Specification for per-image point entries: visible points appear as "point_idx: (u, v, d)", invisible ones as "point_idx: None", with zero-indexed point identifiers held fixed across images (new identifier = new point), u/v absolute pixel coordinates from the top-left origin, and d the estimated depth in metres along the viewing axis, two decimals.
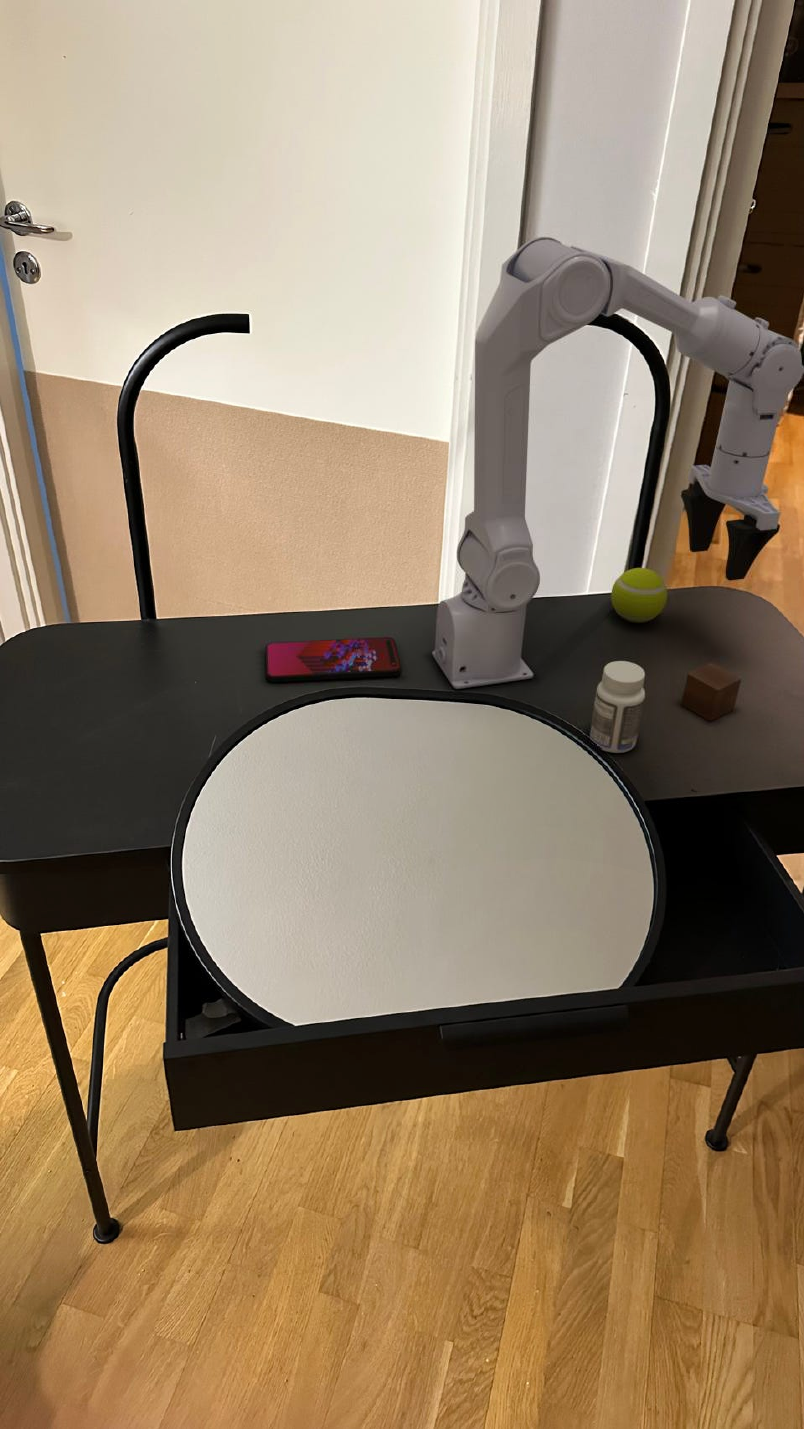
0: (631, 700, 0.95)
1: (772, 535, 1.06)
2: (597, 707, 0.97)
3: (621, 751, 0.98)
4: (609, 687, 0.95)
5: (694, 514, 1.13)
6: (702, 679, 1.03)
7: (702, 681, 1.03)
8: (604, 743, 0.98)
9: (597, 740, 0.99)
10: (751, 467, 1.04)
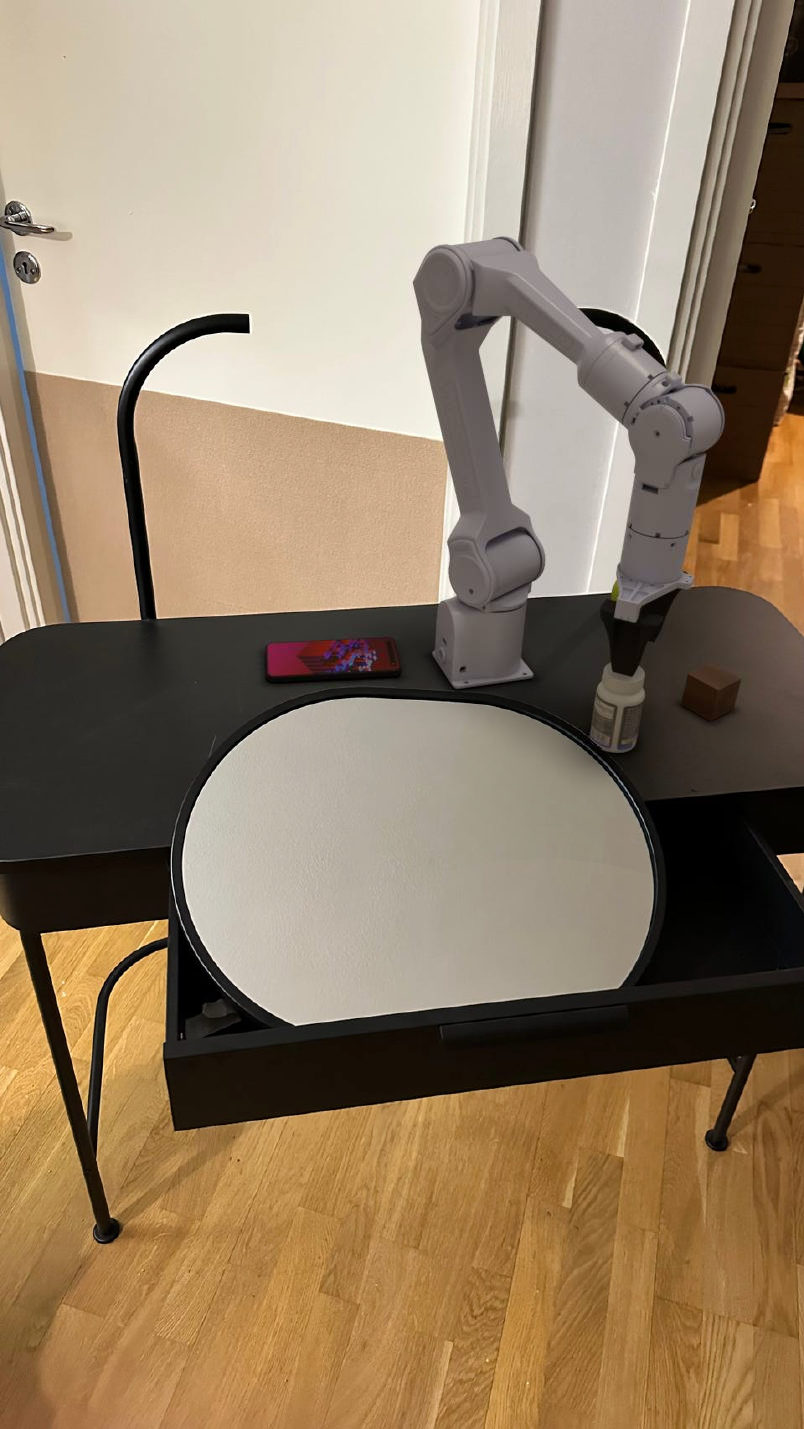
0: (631, 700, 0.95)
1: (647, 633, 0.88)
2: (597, 707, 0.97)
3: (621, 751, 0.98)
4: (609, 687, 0.95)
5: None
6: (702, 679, 1.03)
7: (702, 681, 1.03)
8: (604, 743, 0.98)
9: (597, 740, 0.99)
10: (642, 546, 0.88)
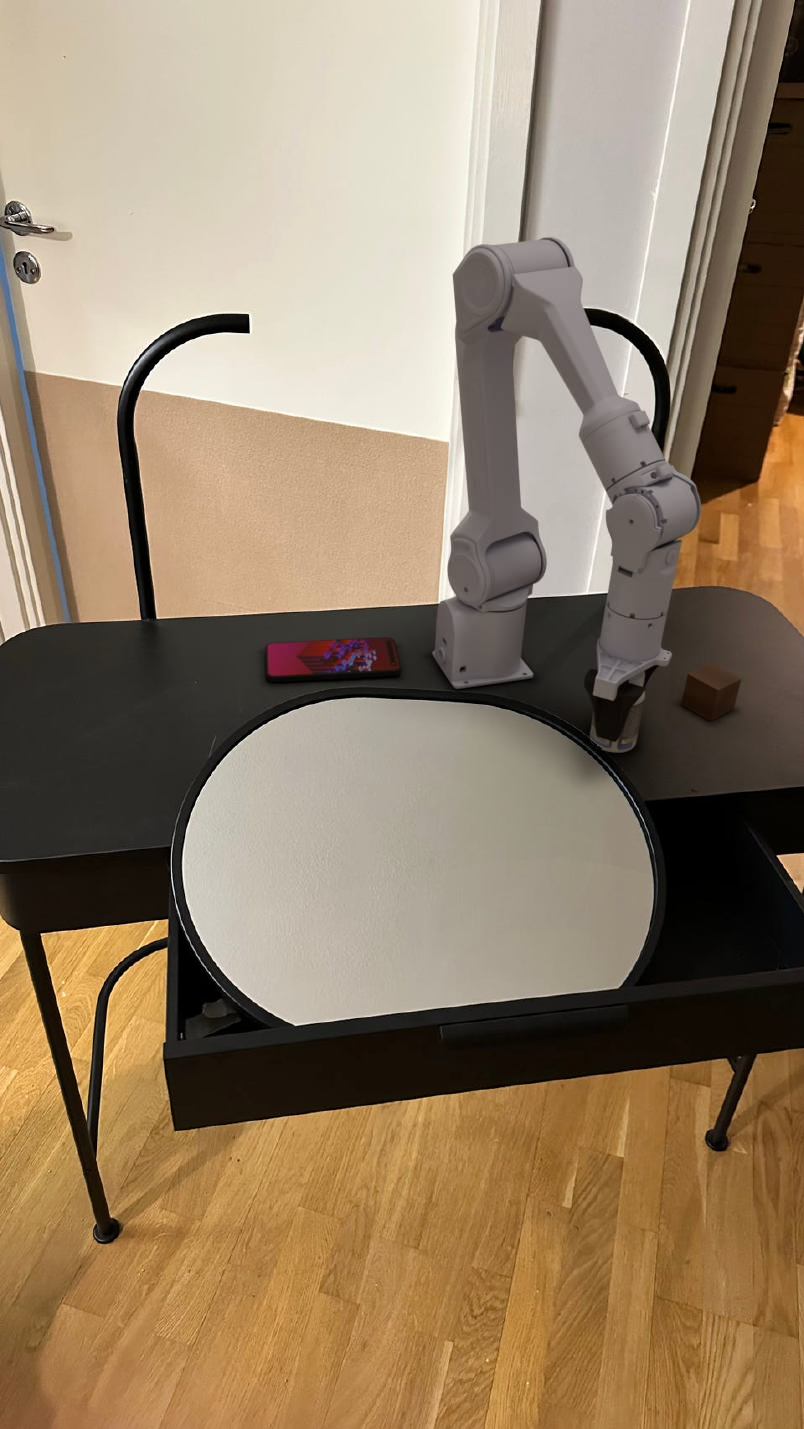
0: None
1: (629, 703, 0.92)
2: None
3: (621, 751, 0.98)
4: None
5: None
6: (702, 679, 1.03)
7: (702, 681, 1.03)
8: (604, 743, 0.98)
9: (597, 740, 0.99)
10: (621, 625, 0.90)
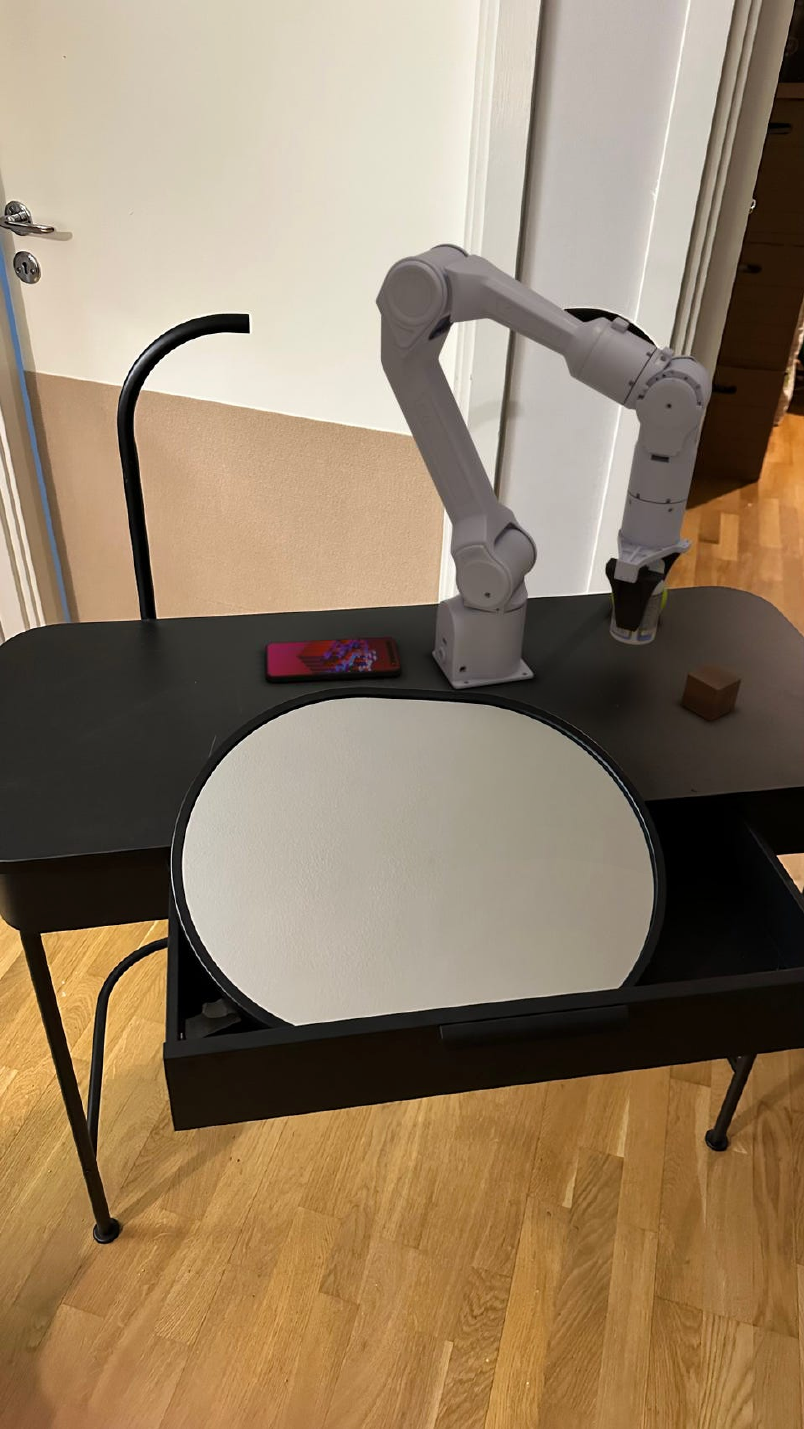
0: None
1: (649, 588, 0.94)
2: None
3: (641, 643, 1.01)
4: None
5: None
6: (702, 679, 1.03)
7: (702, 681, 1.03)
8: (624, 634, 1.01)
9: (617, 632, 1.01)
10: (642, 511, 0.93)
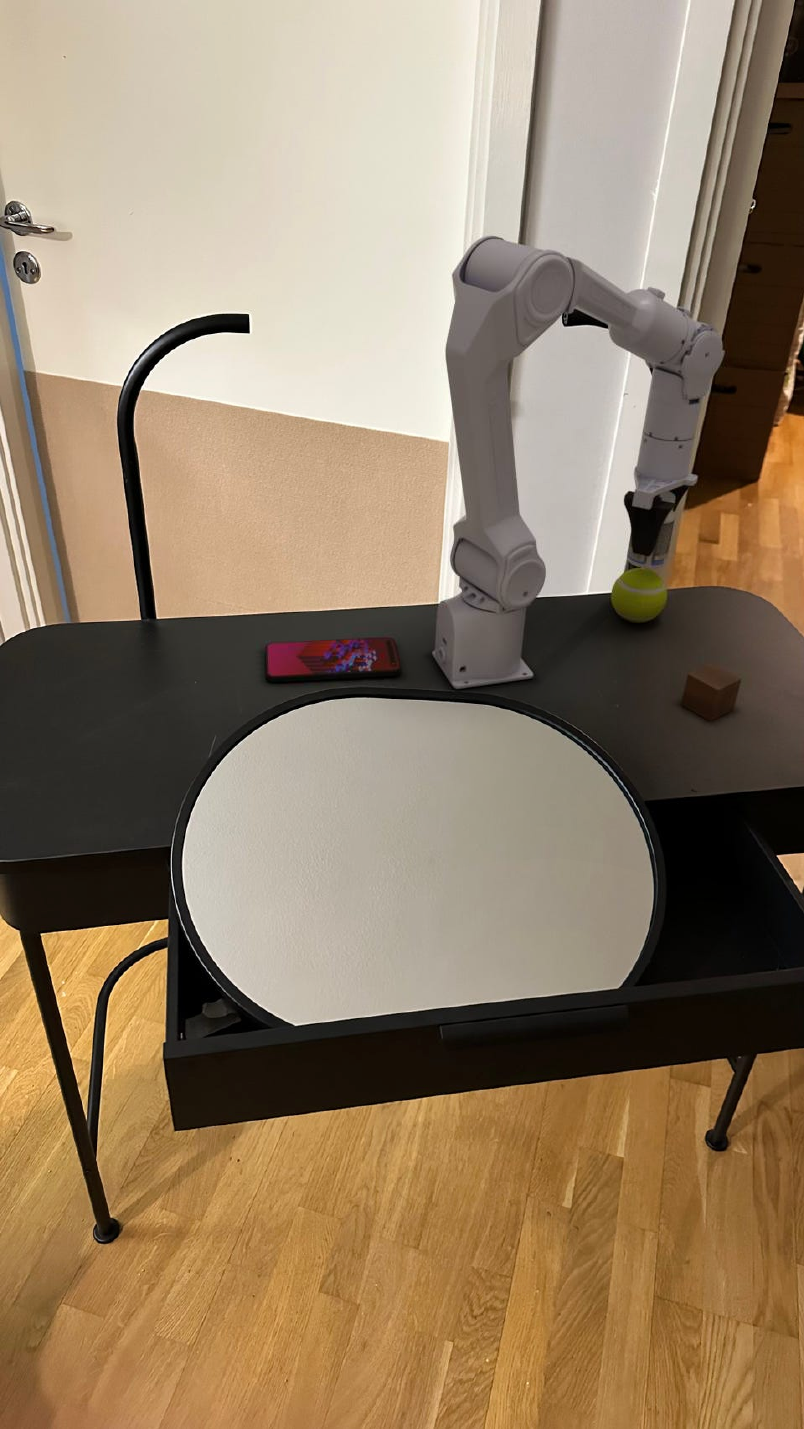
0: None
1: (662, 516, 1.10)
2: None
3: (654, 567, 1.16)
4: None
5: None
6: (702, 679, 1.03)
7: (702, 681, 1.03)
8: (640, 560, 1.16)
9: (634, 558, 1.16)
10: (655, 448, 1.08)
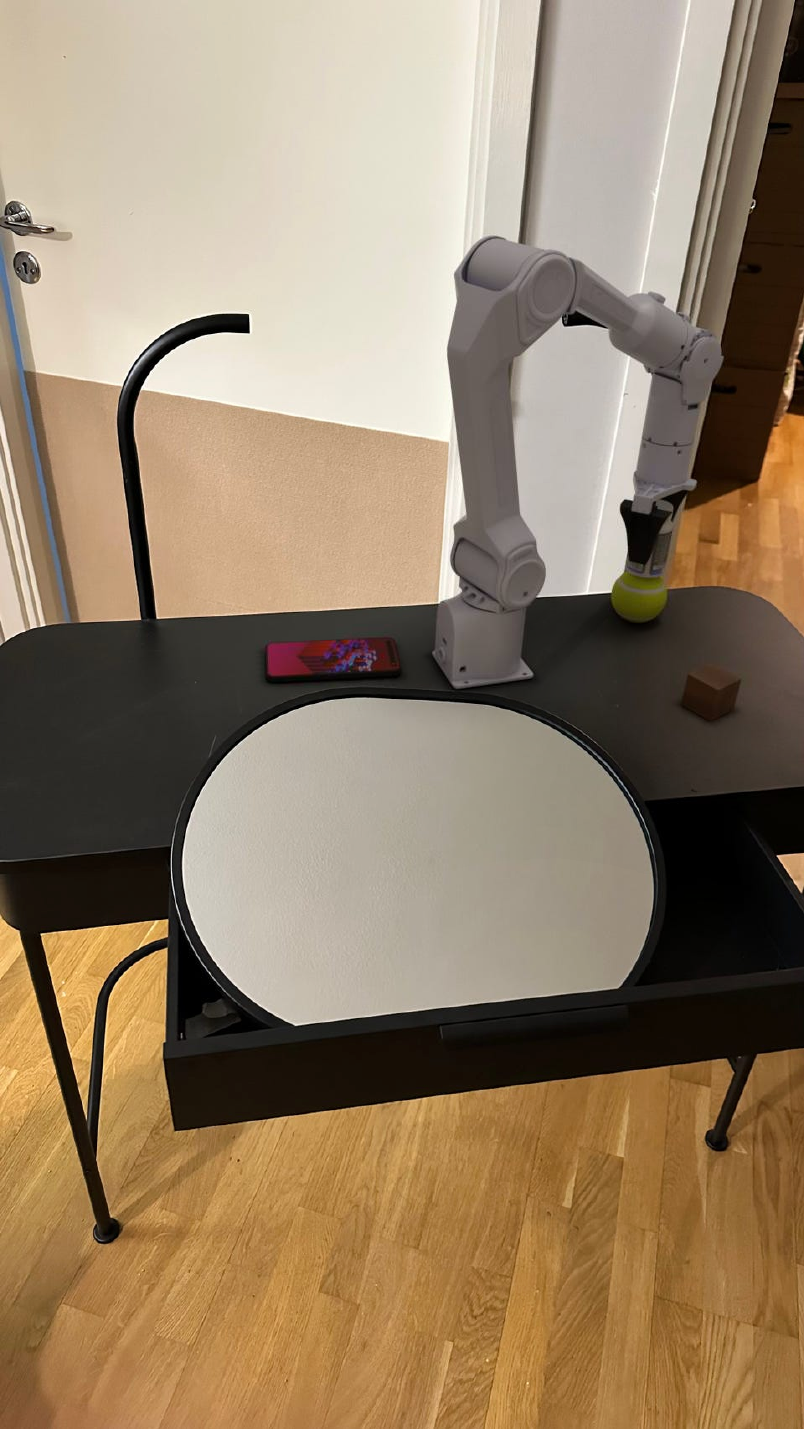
0: (662, 529, 1.13)
1: (658, 524, 1.09)
2: None
3: (652, 576, 1.17)
4: None
5: None
6: (702, 679, 1.03)
7: (702, 681, 1.03)
8: (638, 569, 1.17)
9: (632, 567, 1.17)
10: (654, 453, 1.08)
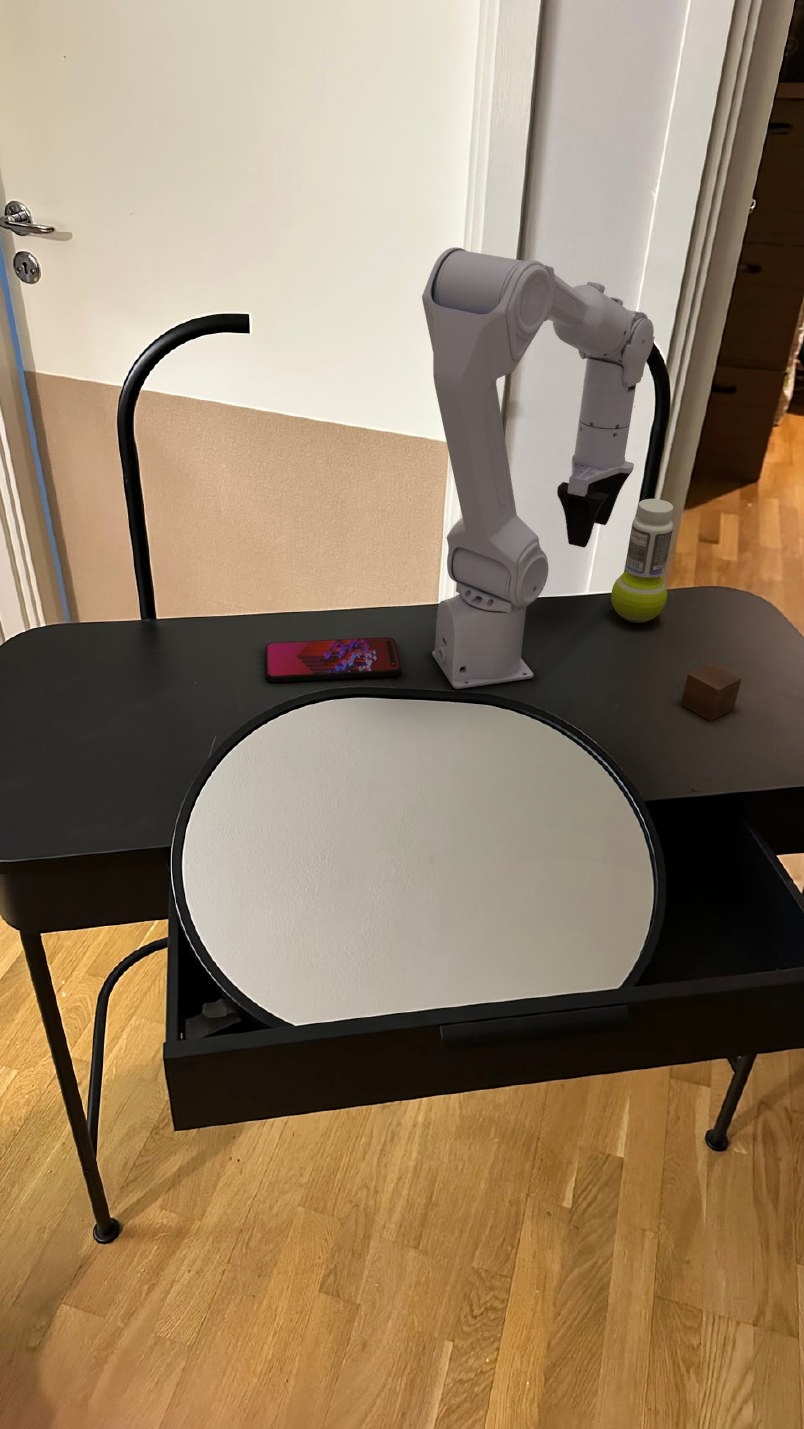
0: (662, 529, 1.13)
1: (594, 506, 1.10)
2: (633, 538, 1.16)
3: (652, 576, 1.17)
4: (643, 518, 1.14)
5: (590, 483, 1.19)
6: (702, 679, 1.03)
7: (702, 681, 1.03)
8: (638, 569, 1.17)
9: (632, 567, 1.17)
10: (590, 436, 1.09)
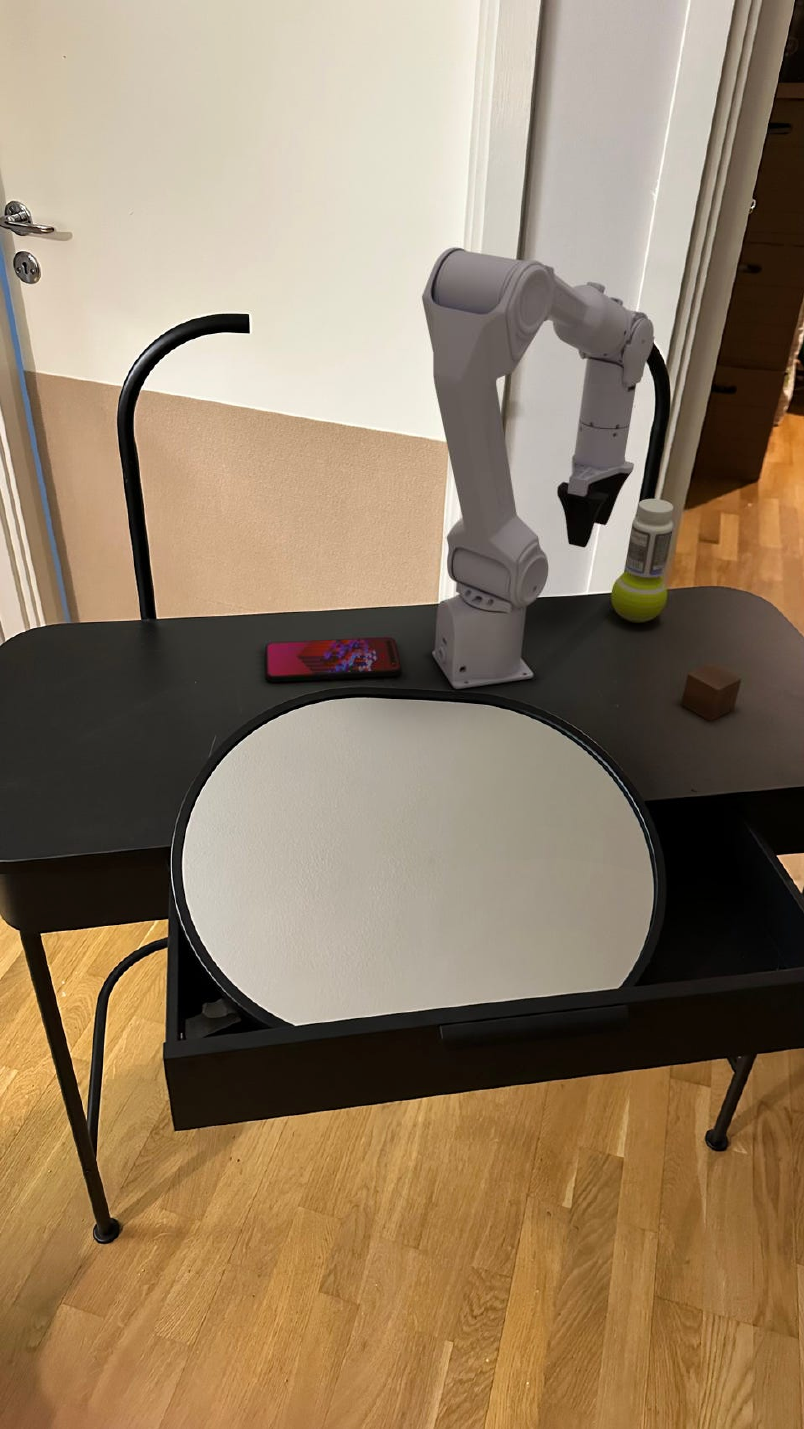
0: (662, 529, 1.13)
1: (594, 506, 1.10)
2: (633, 538, 1.16)
3: (652, 576, 1.17)
4: (643, 518, 1.14)
5: (590, 483, 1.19)
6: (702, 679, 1.03)
7: (702, 681, 1.03)
8: (638, 569, 1.17)
9: (632, 567, 1.17)
10: (590, 436, 1.09)
